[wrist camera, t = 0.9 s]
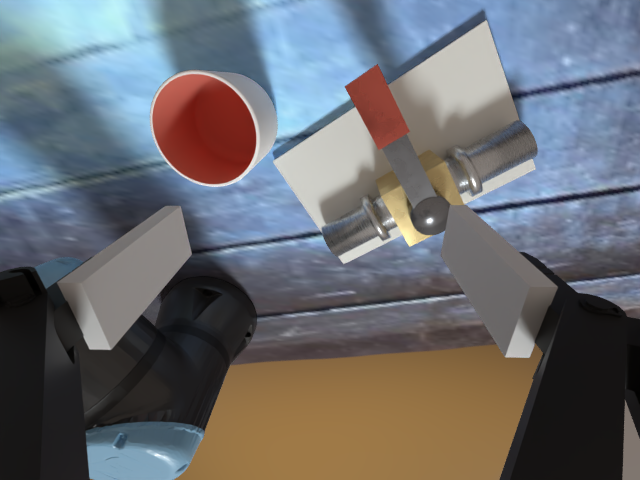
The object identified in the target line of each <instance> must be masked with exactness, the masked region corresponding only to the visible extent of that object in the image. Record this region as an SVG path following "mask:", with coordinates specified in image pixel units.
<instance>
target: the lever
mask: <svg viewBox="0 0 640 480" xmlns="http://www.w3.org/2000/svg"><path fill="white" fill-rule="evenodd" d="M345 88H346V90H347V92H348V94H349V96H350V97H351V99H352V101H353V103H354V105H355V107H356V109H357V111H358V112H359V114H360V116H361V118H362V120H363V122H364V124H365V126H366V127H367V129H368V131H369V133H370V135H371V137H372V139H373V140H374V142H375V144H376V146H377V148H378V150H380V149H382V150H383V152H384V154H385V156H386V158H387V160H388V162H389V164H390V165H391V167H392V169H393V171H394V173H395V175H396V177H397V179H398V181H399V182H400V184H401V186H402V188H403V190H404V192H405V194H406V196H407V197H408V199H409V201H410V203H411V204H410V206H409V210H408V215H409V218H410V220H411V222H412V224H413V226H414V228H415V229H416V230H417V231H418V232H419V233H421V234H424V235H436V234H439V233H441V232H443V231H444V230H445V229H446V223H447V218H448V212H449V207H450V205H451V204H450V203H449V202H448V201H447V200H446V199H445V198H444V197H443V196H442V195H441V194H439V193H436V192H435V191H434V189H433V187H432V185H431V183H430V181H429V179H428V177H427V175H426V173H425V171H424V169H423V166H422V164H421V162H420V160H419V158H418V156H417V154H416V152H415V150H414V148H413V146H412V144H411V142H410V140H409V138H408V136H407V133H409V132H410V131H409V129H408V126H407V124H406V122H405V120H404V118H403V116H402V114H401V112H400V110H399V108H398V106H397V104H396V101H395V99H394V97H393V95H392V93H391V91H390V89H389V87H388V85H387V83H386V81H385V79H384V76H383V74H382V72H381V70H380V68H379V66H378V64H377V65H375V66H374V67H372V68H371V69H369V70H368V71H366V72H365V73H363V74H362V75H361V76H359V77H358V78H356V79H355V80H353V81H352V82H350V83H349V84H348V85H346V86H345Z"/></svg>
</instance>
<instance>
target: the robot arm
mask: <svg viewBox="0 0 640 480" xmlns="http://www.w3.org/2000/svg"><path fill="white" fill-rule="evenodd" d="M191 255H192V252H191V248H190V244H189V240H188V236H187V231H186V227H185V223H184V219H183V214H182V210H181V206H165V207H163V208H162V209H160V210H159V211H158V212H156V213H155V214H153V215H152V216H150V217H149V218H148V219H146V220H145V221H143V222H142V223H141V224H139V225H138V226H136V227H135V228H133V229H132V230H131V231H129V232H128V233H126V234H125V235H124V236H122V237H121V238H119V239H118V240H117V241H115V242H114V243H112V244H111V245H109V246H108V247H107V248H105V249H104V250H102V251H101V252H100V253H98V254H97V255H95V256H93V257H91V258H89V259H88V260H86V261H85V262H82V261H80V260H78V259H76V258H71V257H63V258H57V259H54V260H51V261H48V262H46V263H43V264H41V265H39V266H36V267H34V268H33V267H19V268H14V269H9V270H6V271H3V272H0V480H90V478H91V479H94V480H174V479H175V478H177V477H178V476H180V475H181V474H182V473H183V472H184V471H185V470H186V469H187V467H188V466H189V464H190V462H191V460H192V458H193V456H194V454H195V452H196V449H197V447H198V445H199V443H200V441H201V440H202V439H203V437H204V431H205V428H206V425H207V423H208V421H209V418H210V415H211V412H212V410H213V407H214V405H215V402H216V400H217V397H218V394H219V392H220V389H221V387H222V384H223V381H224V379H225V376H226V373H227V371H228V369H229V366H230V365H231V364H232V363H233V362H234V360H235V359H236V358H237V357H238V356H239V355H240V354H241V352H242V351H243V350H244V349H245V348H246V347H247V346H248V344H249V343H250V341H251V339H252V337H253V334H254V331H255V329H256V325H257V315H256V311H255V308H254V306H253V304H252V303H251V301H250V300H249V299H248V297H247V296H246V295H245V294H244V293H243V292H242V291H240V290H239V289H238V288H236V287H235V286H233V285H231V284H229V283H227V282H225V281H222V280H219V279H216V278H210V277H193V278H189V279H185V280H183V281H181V282H179V283H178V284H176V285H175V286H174V287H173V288H172V289H171V290H170V292H169V293H168V294H167V295H166V297H165V298H164V300H163V302H162V304H161V306H160V310H159V313H158V317H157V320H156V324H155V326H154V325H153V324H152V323H151V322H150V321H149V320H147V319H146V318H145V317H144V316H143V315H142V313H143V312H144V310H145V309H146V308H147V307H148V306H149V305H150V303H151V302H152V301H153V300H154V299H155V297H156V296H157V295H158V294H159V293H160V292H161V290H162V289H163V288H164V287H165V286H166V284H167V283H168V282H169V281H170V280H171V279H172V277H173V276H174V275H175V274H176V273H177V271H178V270H179V269H180V268H181V267H182V266H183V264H184V263H185V262H186V261H187V260H188V258H189V257H190V256H191ZM441 257H442V259H443V260H444V262H445V263H446V265H447V266H448V268H449V270H450V271H451V273H452V274H453V276H454V277H455V279H456V281H457V282H458V284H459V285H460V287H461V289H462V290H463V292H464V293H465V295H466V296H467V298H468V300H469V301H470V303H471V304H472V306H473V307H474V309H475V311H476V312H477V314H478V315H479V317H480V318H481V320H482V322H483V323H484V325H485V326H486V328H487V329H488V331H489V333H490V334H491V336H492V337H493V339H494V341H495V342H496V344H497V345H498V347H499V348H500V350H501V352H502V353H503V355H504V356H505V357H523V358H524V357H526V358H529V357H530V355H531V353H532V350H533V347H534V345H535V343H536V344H537V346H538V347H539V348H540V349H541V351H542V352H543V355H542V357H541V360H540V362H539V364H538V367H537V369H536V372H535V374H534V376H533V379H534V380H533V383H532V386H531V389H530V392H529V394H528V398H527V400H526V403H525V406H524V409H523V412H522V415H521V418H520V421H519V424H518V427H517V430H516V433H515V436H514V439H513V442H512V444H511V447H510V450H509V454H508V456H507V459H506V462H505V465H504V468H503V471H502V474H501V477H500V480H622V471H623V468H622V467H623V440H624V409H625V400H626V402H627V405H628V408H629V411H630V413H631V416H632V419H633V422H634V424H635V427H636V430H637V432H638V435H639V438H640V319H636V318H630V317H627V316H626V313H625V312H624V311H623V310H622V309H621V308H620V307H619V306H617V305H615V304H614V303H612V302H610V301H608V300H605V299H603V298H600V297H598V296H594V295H589V294H582V293H577V292H576V291H575V290H574V289H572V288H571V287H570V286H569V285H568V284H566V283H565V282H564V281H563V280H562V279H561V278H559V277H558V276H557V275H554V273H553V272H552V271H551V270H550V269H549V268H547V267H546V266H545V265H544V264H543V263H542V262H540V261H539V260H538V259H537V258H535V257H533V256H531V255H529V254H527V253H525V252H518V251H517V250H516V249H515V248H514V247H513V246H511V245H510V244H509V243H508V242H507V241H506V240H505V239H504V238H502V237H501V236H500V235H499V234H498V233H497V232H496V231H495V230H494V229H492V228H491V227H490V226H489V225H488V224H487V223H486V222H485V221H483V220H482V219H481V218H480V217H479V216H478V215H477V214H476V213H474V212H473V211H472V210H471V209H470V208H469V207H468V206H467V205H450V207H449V212H448V218H447V223H446V229H445V234H444V240H443V245H442V250H441Z"/></svg>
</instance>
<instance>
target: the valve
mask: <svg viewBox="0 0 640 480" xmlns="http://www.w3.org/2000/svg"><path fill="white" fill-rule="evenodd" d="M446 152H447V156H448V158H446V159H444V160H442V159H441V158H440V157H438V156H437V155H436V154H435V153H433V152H432V151H431V150H427V151H426V152H424V153H422V154H420V155H419V156H418V158H419V160H420V162H421V164H422V166H423V169H424V171H425V173H426V175H427V177H428V179H429V181H430V183H431V185H432V187H433V189H434V191H435V192H436V193H439V194H441V195H442V196H443V197H444V198H445V199H446V200H447V201H448V202H449V203H450V204H451V205H464V203H463V201H462V198H461V196H460V195H461V194H463V193H465V192H467V193H468V194H469V195H470V196H471V197H473V196H475V195H477V194H479V193H481V192H482V191H483V187H482V184H483V183H485V182H487V181H489V180H491V179H493V178H495V177H497V176H499V175H501V174H503V173H504V172H506V171H508V170H510V169H512V168H514V167H516V166H518V165H520V164H522V163H524V162H526V161H528V160H530V159H532V158H534V157H536V155H537V152H538V150H537V144H536V141H535V139H534V136H533V135H532V133H531V131H530V130H529V128H528V127H527V126H526V125H525V124H524V123H523V122H521V121H519V120H515V121H513V122H511V123H510V124H508V125H506V126H504V127H502V128H500V129H499V130H497V131H495V132H493V133H491V134H489V135H488V136H486V137H484V138H482V139H480V140H479V141H477V142H475V143H473V144H471V145H469V146H468V147H466V148H464V149H462V148H461V147H460V146H459V145H455V146H453V147H451V148H449V149H447V151H446ZM375 181H376V184H377V187H378V189H379V192H380V195H379V196H377V197H375V198H373V199H372V198H371V197H370V195H369V194H367V195H365V196H363V197H361V198H360V200H361V204H362V205H360V206H359V207H357V208H355V209H353V210H351V211H349V212H348V213H346V214H344V215H342V216H340V217H339V218H337V219H335V220H333V221H331V222H329V223H328V224H326V225H324V226H322V234H323V237H324V240H325V242H326V244H327V246H328V247H329V249H330V250H331V252H332V253H333V254H334V255H335V256H337V257H338V256H340V255H342V254H344V253H346V252H348V251H350V250H352V249H354V248H356V247H358V246H360V245H362V244H364V243H366V242H368V241H370V240H372V239H374V238H376V237H378V236H379V237H380V239H381V240H382V241H385V240H387V239H389V238H391V234H390V230H392V229H394V228H396V227H399V229H400V231H401V233H402V235H403V236H404V238H405V240H406V242H407V243H408V245H409V247H410V246H412V245H414V244H416V243H418V242H420V241H422V240H424V239H426V238H429V237H431V236H433V235H424V234H421V233H419V232H418V231H417V230H416V229H415V228H414V226H413V224H412V222H411V220H410V218H409V215H408V210H409V206H410V204H411V203H410V201H409V199H408V197H407V196H406V194H405V192H404V190H403V188H402V186H401V184H400V182H399V181H398V179H397V177H396V175H395V173H394V171H393V170H392V171H391V172H389V173H387V174H385V175H383V176H382V177H380V178H378V179H376V180H375Z"/></svg>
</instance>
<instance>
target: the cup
mask: <svg viewBox="0 0 640 480" xmlns="http://www.w3.org/2000/svg"><path fill="white" fill-rule="evenodd" d="M150 126H151V132H152V136H153V139H154V142H155V144H156V146H157V148H158V150H159V152H160V154H161V155H162V157H163V158H164V159H165V161H166V162H167V163H168V164H169V165H170V166H171V167H172V168H173V169H174V170H175V171H176V172H177V173H178V174H180V175H181V176H183V177H184V178H186V179H188V180H190V181H192V182H194V183H197V184H200V185H204V186H210V187H219V186H226V185H230V184H232V183H235V182H237V181H238V180H240V179H242V178H243V177H244V176H245V175H246V174H247V173H248V172H249V171H250V170H251V169H252V168H253V167H255V166H256V165H257V164H258V163H259V162H260V161H261V160H262V159H263V158H264V157H265V156H266V155H267V154H268V152H269V151H270V150H271V148H272V146H273V144H274V142H275V139H276V136H277V129H278V121H277V115H276V111H275V108H274V105H273V103H272V101H271V99H270V97H269V96H268V94H267V93H266V92H265V90H264V89H263V88H262V87H261V86H260V85H259V84H257V83H256V82H255V81H253V80H252V79H250V78H248V77H246V76H244V75H241V74H237V73H230V72H218V71H205V70H187V71H183V72H179V73H177V74H175V75H173V76H171V77H170V78H168V79H167V80H166V81H165V82H164V83H163V84H162V85H161V86H160V87H159V89H158V90H157V92H156V94H155V96H154V98H153V101H152V104H151V110H150Z"/></svg>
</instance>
